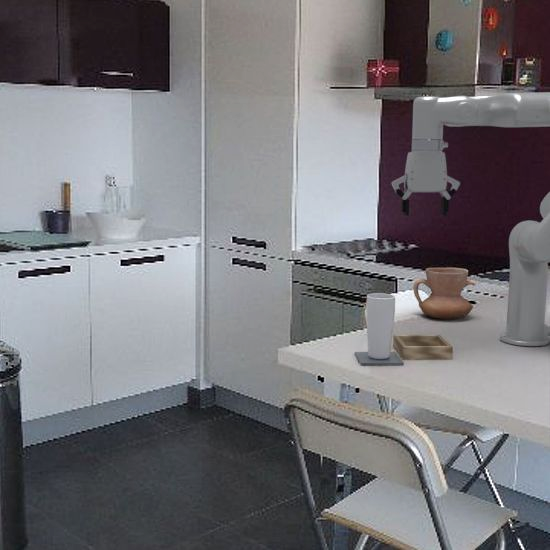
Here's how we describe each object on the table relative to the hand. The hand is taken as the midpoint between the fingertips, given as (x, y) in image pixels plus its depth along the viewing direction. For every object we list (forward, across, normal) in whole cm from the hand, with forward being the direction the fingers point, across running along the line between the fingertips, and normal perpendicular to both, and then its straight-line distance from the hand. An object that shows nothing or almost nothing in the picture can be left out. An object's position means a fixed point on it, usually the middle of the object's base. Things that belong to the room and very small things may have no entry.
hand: (424, 215), depth 214 cm
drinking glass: (+33, +14, +17) cm, 39 cm away
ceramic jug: (+34, -14, -29) cm, 47 cm away
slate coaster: (+33, +14, +17) cm, 40 cm away
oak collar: (+33, +2, +11) cm, 35 cm away
